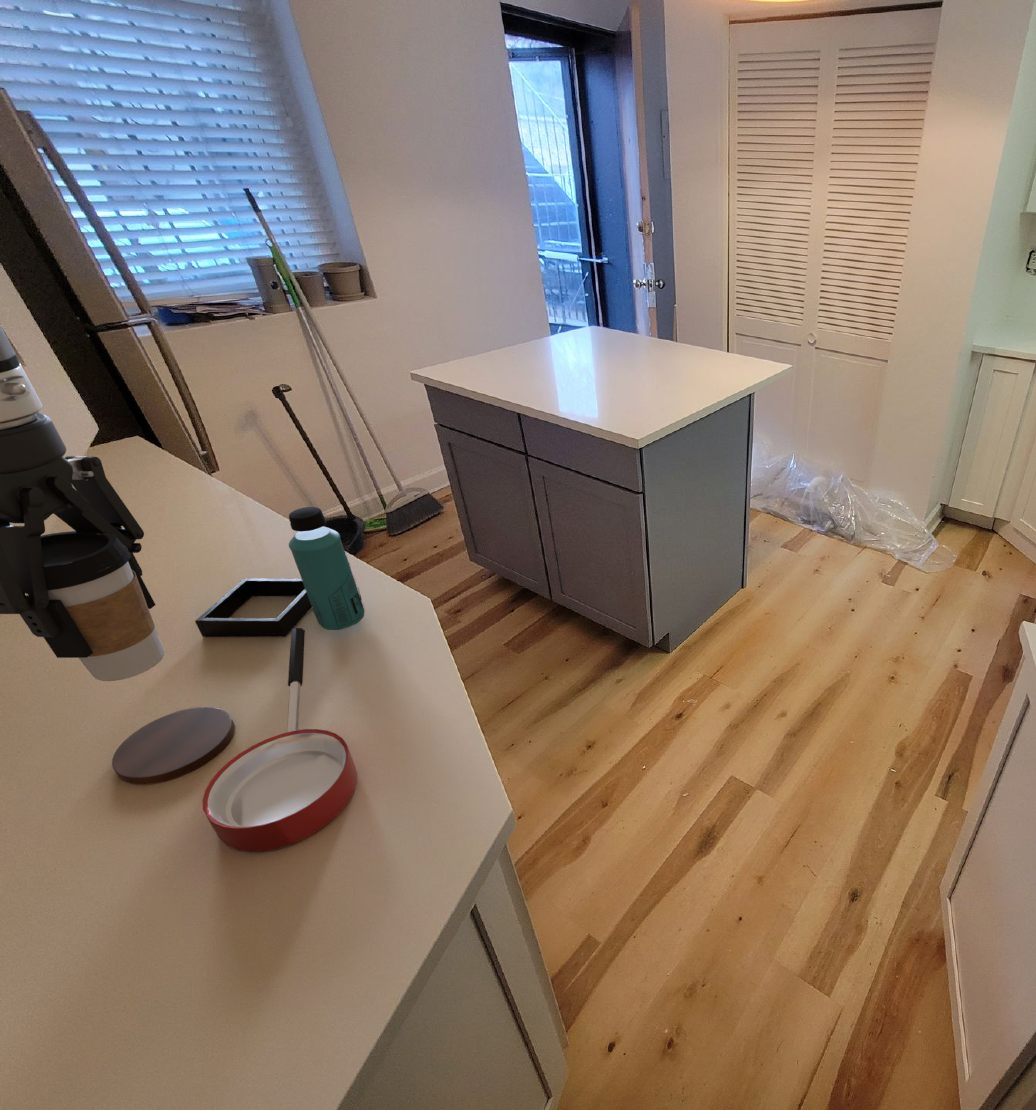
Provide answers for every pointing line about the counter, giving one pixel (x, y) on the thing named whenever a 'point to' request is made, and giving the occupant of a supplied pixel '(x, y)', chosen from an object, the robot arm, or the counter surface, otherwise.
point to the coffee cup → (102, 602)
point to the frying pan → (282, 780)
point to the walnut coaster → (173, 745)
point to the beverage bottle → (324, 570)
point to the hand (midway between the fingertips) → (109, 629)
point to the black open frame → (221, 625)
